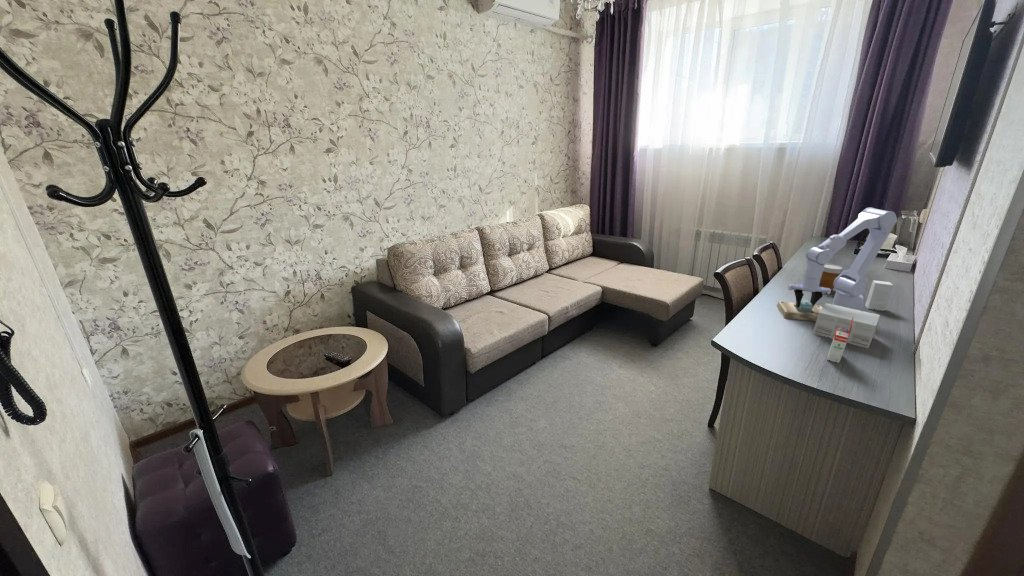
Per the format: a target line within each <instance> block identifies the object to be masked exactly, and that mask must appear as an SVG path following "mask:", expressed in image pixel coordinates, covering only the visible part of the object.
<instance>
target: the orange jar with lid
mask: <svg viewBox="0 0 1024 576" xmlns="http://www.w3.org/2000/svg"><path fill="white" fill-rule="evenodd" d="M842 271H844V269H843V267H842V266H840V265H838V264H832V263H826V264H825V266H824V270H823V273H822V277H821V280H820V283H819V287H824V288H830V289H831V291H832V292H833V290H834V289H835V287H834V285H833V283H834V280H835V279H836V278H837V277H838V276H839V275H840V274H841V272H842Z"/></svg>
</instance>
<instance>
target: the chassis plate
mask: <svg viewBox="0 0 1024 576" xmlns="http://www.w3.org/2000/svg"><path fill="white" fill-rule="evenodd" d="M795 306H796V302H791V301H790V302H789V301H780V300H778V301H777V304H776V307H777V309H778V311H779V313H780V314H781V315H782V318H785V319H786V318H787V319H792V320H793V319H795V320H803V321H809V322H816V320H817V317H818V313H819V312H820V310H821V309H822V308H823V306H821V305H816V304H815V305H814V306H813V308H812V311H811V313H808V312H799V311H798V310H797V309H796V308H795Z"/></svg>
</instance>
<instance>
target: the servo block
mask: <svg viewBox="0 0 1024 576" xmlns="http://www.w3.org/2000/svg"><path fill="white" fill-rule="evenodd" d="M812 307H813V305H812V304H811V303H810V300H809V299H803V298H802V300H801V303H800V307H799V308H797V307H796V306H795V308H796V309H797V310H798V311H799V312H808V313H811V311H812Z"/></svg>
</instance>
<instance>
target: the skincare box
mask: <svg viewBox="0 0 1024 576" xmlns="http://www.w3.org/2000/svg"><path fill="white" fill-rule="evenodd" d="M871 282H872V283H871V285H870V289H869V292H868V295H867V298H866V300H865V304H864V306H865V307H866V308H867V309H869V310H874V309H875V311H885V310H886V308H887V305H888V302H889V300H890V297H891V293H892V290H893V288H894V284H892V283H891V282H890V281H882V280H874V279H873V280H872V281H871Z"/></svg>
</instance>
